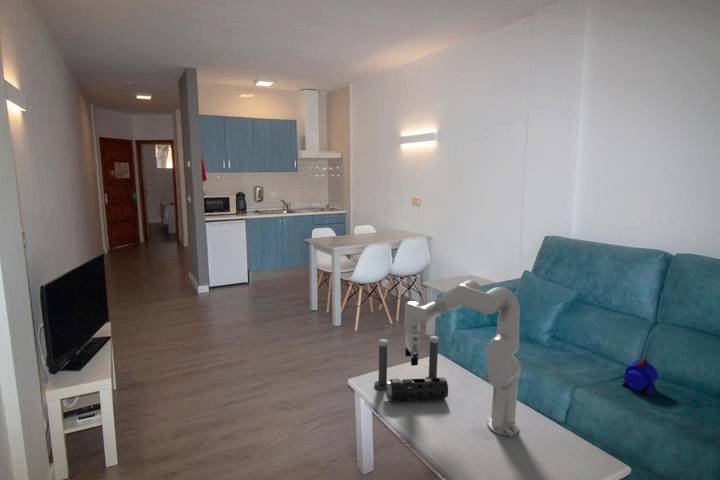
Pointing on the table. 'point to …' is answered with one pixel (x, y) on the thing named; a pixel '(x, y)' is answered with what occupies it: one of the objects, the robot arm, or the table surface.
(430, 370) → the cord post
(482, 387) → the table surface
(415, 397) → the muzzle brake
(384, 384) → the cord post
